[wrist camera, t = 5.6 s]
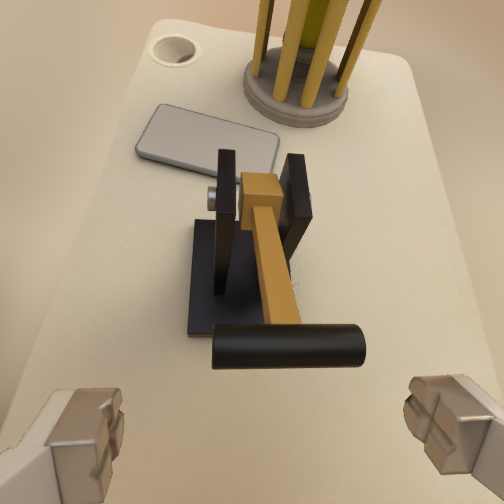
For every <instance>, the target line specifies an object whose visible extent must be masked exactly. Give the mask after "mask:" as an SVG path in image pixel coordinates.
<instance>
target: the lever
mask: <svg viewBox="0 0 504 504" xmlns="http://www.w3.org/2000/svg"><path fill="white" fill-rule="evenodd" d="M283 196H284V195H283V192H282V189H281V186H280V183H279V180H278V177H277V174H270V173H254V172H241V177H240V189H239V202H238V210H239V222H240V229H241V230H252V233H253V240H254V247H255V255H256V262H257V269H258V277H259V284H260V291H261V299H262V306H263V313H264V321H265V324H213V339H212V369H214V370H219V369H282V368H346V367H360V366H362V365H363V363H364V361H365V358H366V343H365V338H364V335H363V332H362V330H361V329H360V327H359V326H357V325H355V324H302V323H301V319H300V315H299V311H298V308H297V304H296V300H295V296H294V292H293V288H292V284H291V280H290V276H289V272H288V268H287V264H286V260H285V256H284V252H283V248H282V244H281V240H280V236H279V232H278V224H279V219H280V213H281V208H282V202H283Z"/></svg>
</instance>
